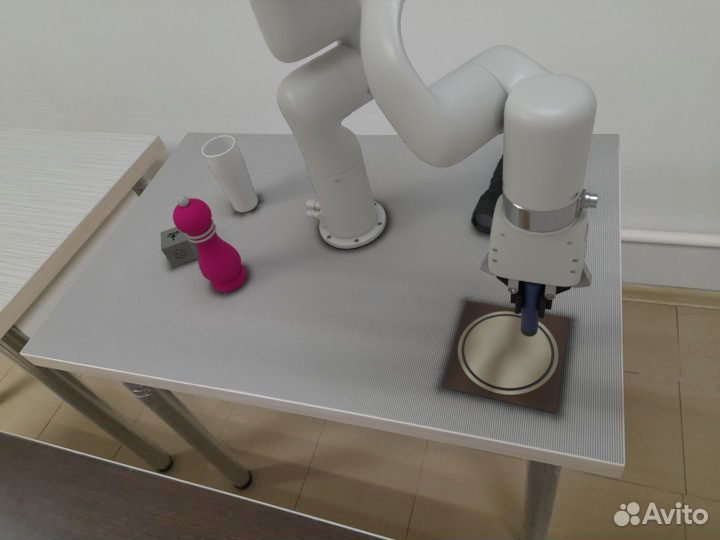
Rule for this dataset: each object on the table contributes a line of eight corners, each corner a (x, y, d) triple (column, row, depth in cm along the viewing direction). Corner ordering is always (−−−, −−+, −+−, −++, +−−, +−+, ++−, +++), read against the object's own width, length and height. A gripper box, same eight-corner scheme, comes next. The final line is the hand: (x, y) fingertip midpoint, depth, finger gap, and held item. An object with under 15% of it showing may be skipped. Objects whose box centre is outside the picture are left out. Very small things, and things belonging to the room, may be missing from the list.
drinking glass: (225, 214, 108) (193, 155, 97) (241, 192, 112) (213, 133, 101) (252, 218, 105) (223, 158, 94) (268, 195, 109) (242, 135, 98)
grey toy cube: (196, 241, 104) (185, 223, 100) (198, 258, 101) (186, 240, 97) (172, 250, 104) (160, 232, 100) (173, 267, 100) (160, 249, 97)
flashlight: (470, 231, 91) (469, 210, 87) (503, 157, 102) (503, 136, 98) (499, 236, 89) (499, 214, 85) (529, 160, 100) (530, 138, 96)
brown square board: (441, 387, 73) (441, 384, 72) (466, 302, 81) (466, 299, 81) (555, 413, 67) (556, 411, 66) (569, 320, 76) (570, 316, 75)
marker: (519, 335, 70) (522, 284, 62) (521, 321, 71) (525, 270, 63) (536, 338, 69) (541, 287, 61) (538, 324, 71) (544, 273, 62)
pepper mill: (207, 275, 97) (155, 193, 82) (243, 258, 98) (198, 175, 83) (215, 301, 92) (161, 219, 77) (253, 284, 93) (207, 200, 78)
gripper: (630, 182, 52) (601, 294, 66) (470, 169, 58) (474, 275, 71) (626, 236, 48) (596, 344, 61) (453, 216, 53) (461, 319, 67)
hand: (530, 306), depth 66 cm, fingers closed on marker, 2 cm apart
